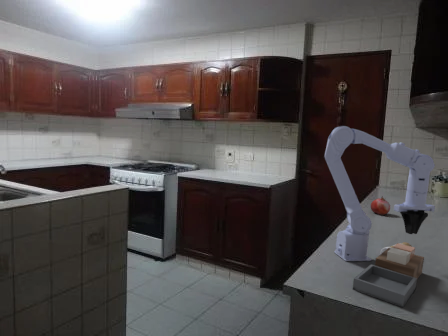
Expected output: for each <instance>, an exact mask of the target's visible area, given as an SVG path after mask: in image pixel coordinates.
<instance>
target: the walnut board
mask: <svg viewBox="0 0 448 336" xmlns="http://www.w3.org/2000/svg"><path fill="white" fill-rule="evenodd" d="M390 249H391V248H388V249H387V250H386V251H384V252H383V253H382V254H381V255H380V254H379V255H378V256H377V257H376V258H375V262H374V265H375V266H378V267H382V268H385V269H388V270H392V271H395V272H398V273H401V274H405V275H408V276H411V277H415V278H417V280H418V279H419V277H420V276H421V275H422V273H423V270H424V268H423V267H424V260H425V257H424V256H423V255H422V256H421V255H417V254H414V256H413V257H412V258H411V260H410V261H409V262H408V263H407V264H406V265H403V264H400V263H396V262H393V261H389V260H387V252H388V251H389V250H390Z"/></svg>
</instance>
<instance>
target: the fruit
mask: <svg viewBox="0 0 448 336" xmlns="http://www.w3.org/2000/svg"><path fill="white" fill-rule="evenodd" d="M370 210H371V212H373V213H374V214H377V215H380V216H384V215H386V214H388V213H389V212H390V210H391V205H390V203H389V202H388V201H387V200H386V198H384V197H383V195H381V198H380V197H379V198H376V199H374V200H373V201H371V203H370Z"/></svg>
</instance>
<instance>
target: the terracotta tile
mask: <svg viewBox="0 0 448 336" xmlns="http://www.w3.org/2000/svg"><path fill="white" fill-rule="evenodd" d="M394 245H395V246H393V245H392V246H393V248H396V249H400V250H404V251H408V252H411V254H410V260H411V258H412V257H413V256H414V255H415V254H416V247H414V246H412V245H411V246H412V247H411V246H407V245H403V244H401V243H398V242H397V243H396V244H394Z"/></svg>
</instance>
